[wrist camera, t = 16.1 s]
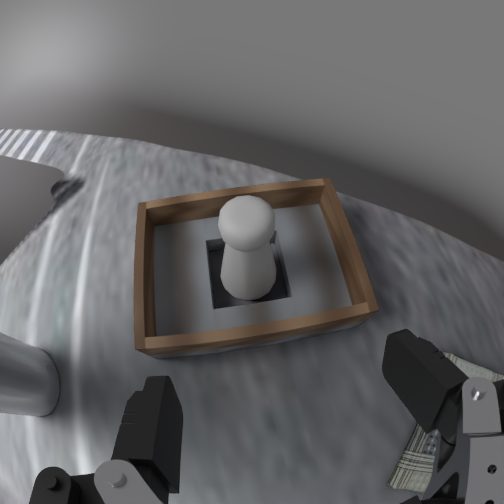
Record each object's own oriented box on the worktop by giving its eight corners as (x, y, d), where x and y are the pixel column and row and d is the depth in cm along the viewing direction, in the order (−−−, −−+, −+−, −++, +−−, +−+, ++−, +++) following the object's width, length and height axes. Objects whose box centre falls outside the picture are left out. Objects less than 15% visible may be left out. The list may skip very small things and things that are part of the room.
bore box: (156, 358, 27) (135, 349, 22) (153, 232, 35) (138, 203, 29) (357, 326, 29) (379, 309, 24) (320, 209, 36) (329, 178, 31)
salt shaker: (226, 257, 33) (213, 180, 22) (275, 260, 33) (286, 184, 21) (220, 305, 30) (200, 244, 19) (273, 309, 30) (286, 250, 19)
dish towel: (379, 486, 20) (391, 493, 17) (438, 351, 27) (453, 346, 24) (471, 500, 15) (484, 503, 13) (513, 389, 23) (527, 385, 20)
